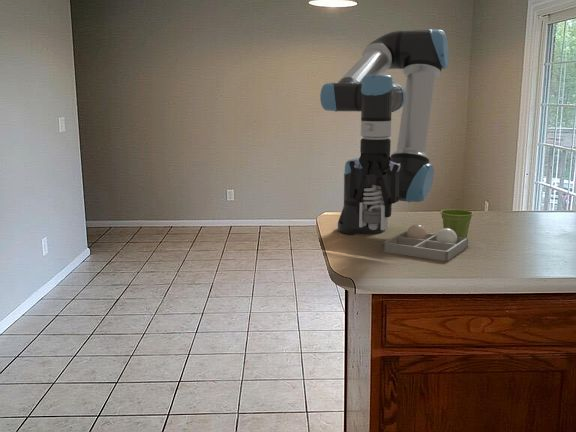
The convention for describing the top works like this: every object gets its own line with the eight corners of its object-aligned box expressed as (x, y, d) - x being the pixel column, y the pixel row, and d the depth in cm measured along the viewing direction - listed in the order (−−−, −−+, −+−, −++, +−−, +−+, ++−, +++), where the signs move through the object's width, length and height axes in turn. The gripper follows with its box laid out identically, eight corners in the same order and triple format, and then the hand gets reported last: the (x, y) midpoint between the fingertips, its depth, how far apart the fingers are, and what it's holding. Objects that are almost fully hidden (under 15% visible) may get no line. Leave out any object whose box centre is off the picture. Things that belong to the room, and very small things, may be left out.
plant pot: (433, 241, 176) (434, 212, 174) (447, 235, 183) (448, 207, 181) (463, 246, 170) (465, 216, 168) (476, 240, 177) (478, 211, 175)
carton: (382, 253, 162) (382, 242, 161) (407, 240, 176) (407, 230, 176) (446, 263, 152) (447, 251, 152) (467, 249, 167) (468, 238, 166)
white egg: (432, 248, 165) (433, 228, 164) (439, 244, 169) (440, 225, 168) (452, 251, 162) (454, 231, 161) (459, 247, 166) (460, 227, 165)
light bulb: (378, 234, 152) (380, 187, 149) (358, 231, 155) (359, 185, 152) (387, 229, 156) (388, 184, 154) (367, 227, 159) (368, 182, 157)
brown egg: (403, 244, 169) (404, 225, 168) (410, 240, 174) (411, 221, 173) (422, 247, 166) (423, 227, 165) (429, 243, 171) (430, 224, 170)
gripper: (336, 137, 152) (335, 226, 157) (404, 140, 142) (401, 235, 147) (349, 135, 158) (348, 220, 163) (416, 138, 148) (412, 229, 154)
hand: (373, 227), depth 155 cm, fingers closed on light bulb, 5 cm apart
